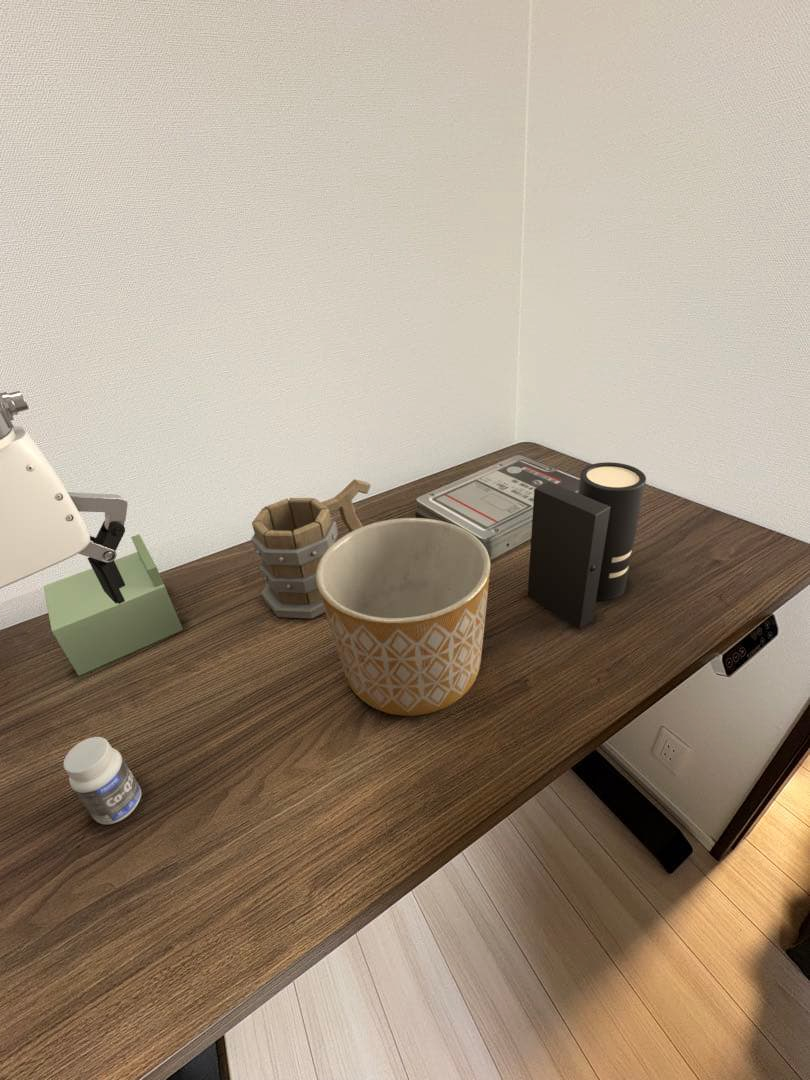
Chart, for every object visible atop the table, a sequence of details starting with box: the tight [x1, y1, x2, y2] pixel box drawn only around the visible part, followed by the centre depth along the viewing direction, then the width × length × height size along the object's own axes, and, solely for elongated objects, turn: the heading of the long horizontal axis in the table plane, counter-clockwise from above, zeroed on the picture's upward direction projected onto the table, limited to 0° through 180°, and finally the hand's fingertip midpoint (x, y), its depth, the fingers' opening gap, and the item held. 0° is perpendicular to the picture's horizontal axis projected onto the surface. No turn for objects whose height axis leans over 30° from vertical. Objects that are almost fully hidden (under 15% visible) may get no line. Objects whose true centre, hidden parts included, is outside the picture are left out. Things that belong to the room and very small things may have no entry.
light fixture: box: [526, 461, 647, 630], centre depth 72 cm, size 10×14×18 cm
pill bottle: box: [63, 736, 142, 825], centre depth 53 cm, size 5×5×8 cm
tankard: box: [250, 478, 372, 620], centre depth 80 cm, size 20×13×15 cm, turn 126°
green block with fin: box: [43, 534, 184, 677], centre depth 75 cm, size 14×12×11 cm
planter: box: [316, 517, 491, 717], centre depth 63 cm, size 19×19×16 cm
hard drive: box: [414, 454, 580, 561], centre depth 96 cm, size 18×27×4 cm
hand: (56, 626), depth 44 cm, fingers open, 9 cm apart
